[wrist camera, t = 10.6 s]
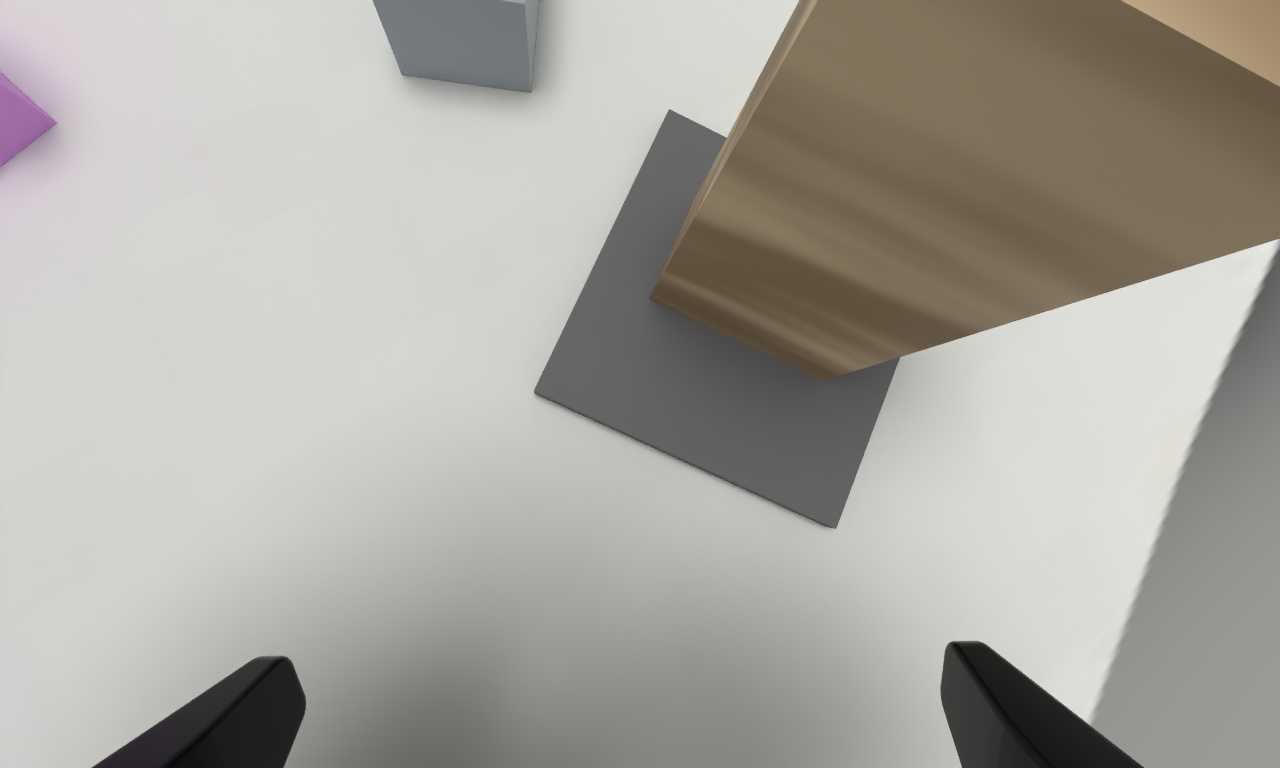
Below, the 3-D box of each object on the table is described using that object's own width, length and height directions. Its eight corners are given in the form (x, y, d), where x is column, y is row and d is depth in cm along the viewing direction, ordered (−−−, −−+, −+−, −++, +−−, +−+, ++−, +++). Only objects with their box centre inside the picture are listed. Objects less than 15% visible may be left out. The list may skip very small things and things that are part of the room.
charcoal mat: (827, 527, 20) (835, 528, 19) (534, 392, 19) (533, 390, 18) (931, 251, 21) (941, 244, 21) (665, 119, 21) (669, 109, 20)
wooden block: (822, 381, 20) (1456, 183, 6) (648, 298, 19) (890, -127, 5) (860, 283, 20) (1519, -105, 6) (693, 201, 20) (1012, -403, 6)
